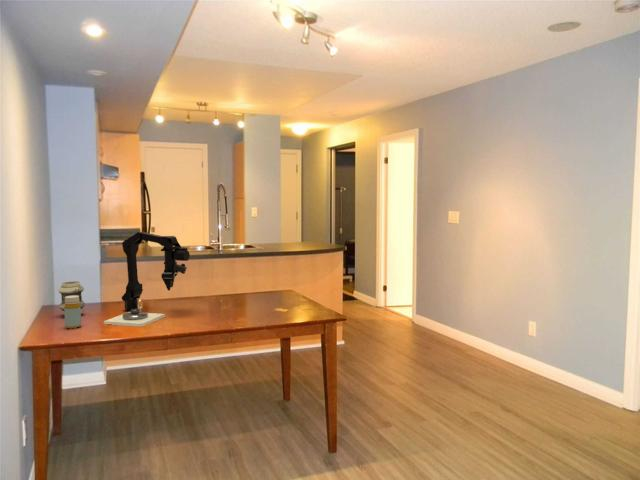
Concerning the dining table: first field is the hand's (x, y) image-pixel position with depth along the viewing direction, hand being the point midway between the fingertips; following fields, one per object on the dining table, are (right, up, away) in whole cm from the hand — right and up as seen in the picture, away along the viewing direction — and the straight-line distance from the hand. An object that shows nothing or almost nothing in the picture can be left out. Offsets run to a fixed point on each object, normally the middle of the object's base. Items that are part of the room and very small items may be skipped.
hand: (170, 288), depth 266 cm
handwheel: (-14, -13, -10) cm, 22 cm away
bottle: (-39, -16, -27) cm, 50 cm away
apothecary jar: (-51, -14, -3) cm, 53 cm away
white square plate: (-14, -15, -13) cm, 24 cm away
